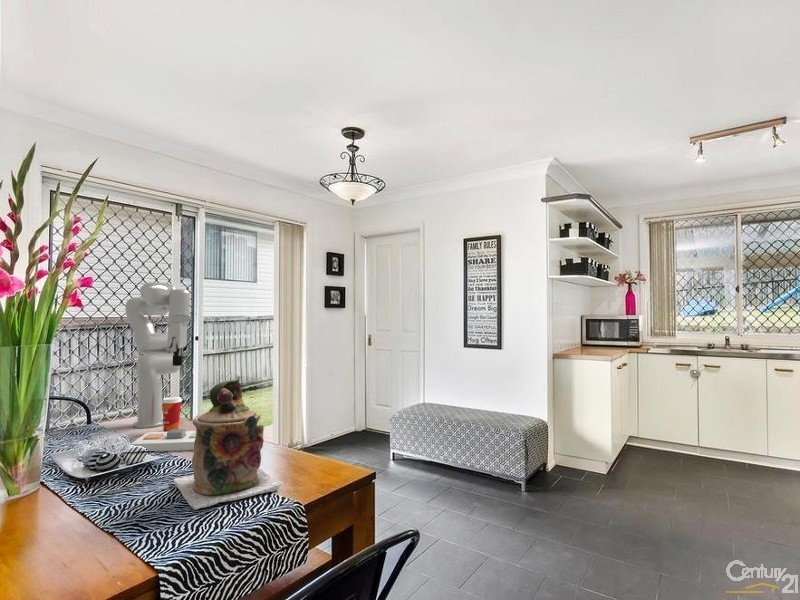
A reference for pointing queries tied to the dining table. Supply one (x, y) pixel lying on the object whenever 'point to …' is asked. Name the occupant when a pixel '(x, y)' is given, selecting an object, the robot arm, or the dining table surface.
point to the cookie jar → (226, 452)
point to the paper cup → (171, 413)
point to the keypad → (166, 442)
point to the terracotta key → (153, 436)
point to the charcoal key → (176, 433)
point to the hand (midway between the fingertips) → (177, 365)
